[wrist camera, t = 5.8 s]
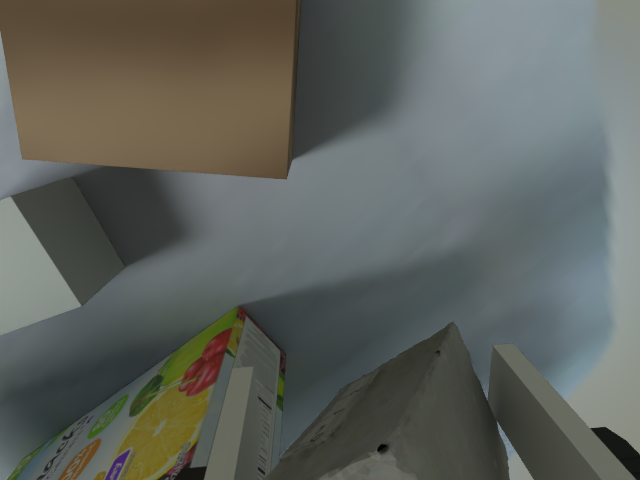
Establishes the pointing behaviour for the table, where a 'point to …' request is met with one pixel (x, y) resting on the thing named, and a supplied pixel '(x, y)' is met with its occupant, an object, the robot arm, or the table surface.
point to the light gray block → (50, 254)
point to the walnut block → (155, 82)
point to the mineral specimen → (405, 423)
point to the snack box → (170, 412)
